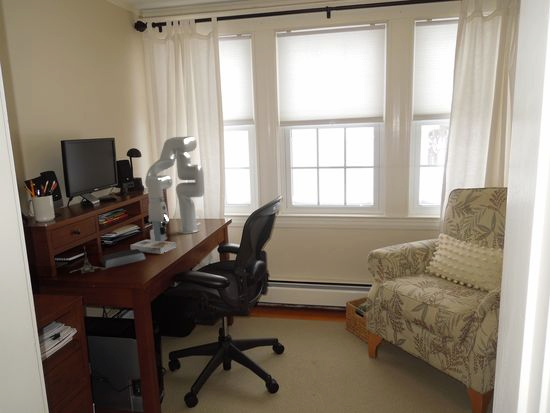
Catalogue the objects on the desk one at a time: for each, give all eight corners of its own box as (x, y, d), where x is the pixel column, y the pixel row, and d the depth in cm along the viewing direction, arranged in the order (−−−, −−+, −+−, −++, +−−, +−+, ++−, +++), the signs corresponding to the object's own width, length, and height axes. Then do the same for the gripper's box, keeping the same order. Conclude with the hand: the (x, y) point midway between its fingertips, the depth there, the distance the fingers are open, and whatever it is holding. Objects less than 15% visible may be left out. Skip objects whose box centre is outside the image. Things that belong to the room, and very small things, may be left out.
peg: (160, 239, 220) (158, 219, 218) (166, 239, 218) (163, 219, 216) (155, 241, 216) (153, 221, 214) (160, 241, 215) (158, 221, 213)
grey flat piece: (147, 244, 232) (146, 239, 231) (176, 247, 221) (175, 242, 221) (131, 250, 221) (130, 244, 221) (161, 253, 211) (160, 248, 210)
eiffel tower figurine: (109, 269, 193) (105, 242, 190) (92, 276, 183) (88, 248, 181) (85, 266, 198) (81, 240, 196) (68, 273, 189) (64, 246, 186)
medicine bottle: (162, 242, 235) (159, 222, 233) (150, 242, 236) (148, 222, 234) (167, 238, 242) (165, 219, 239) (156, 238, 243) (154, 219, 241)
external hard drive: (146, 260, 203) (145, 252, 202) (106, 269, 192) (104, 261, 192) (139, 254, 214) (138, 247, 213) (100, 262, 203) (99, 255, 202)
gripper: (173, 199, 213) (176, 233, 216) (149, 198, 221) (153, 231, 224) (163, 202, 206) (166, 236, 210) (139, 201, 214) (143, 234, 217)
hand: (159, 233), depth 217 cm, fingers closed on peg, 4 cm apart
